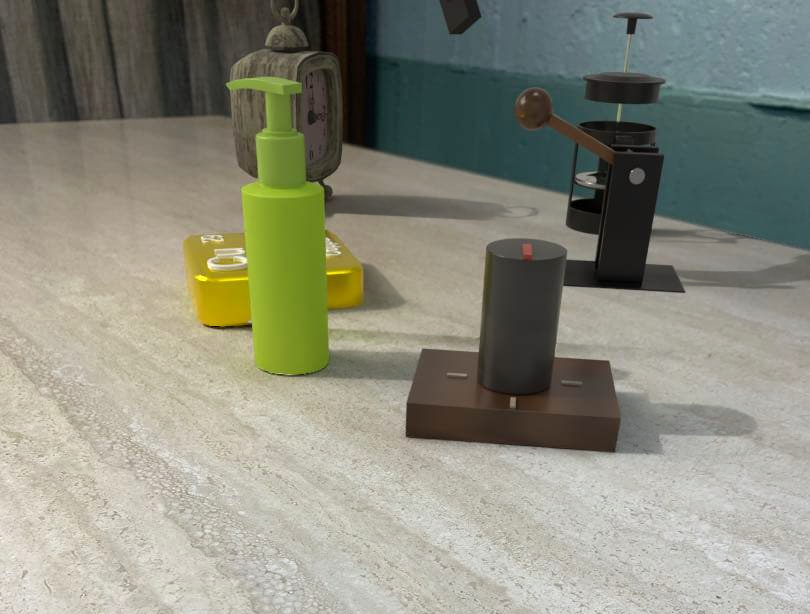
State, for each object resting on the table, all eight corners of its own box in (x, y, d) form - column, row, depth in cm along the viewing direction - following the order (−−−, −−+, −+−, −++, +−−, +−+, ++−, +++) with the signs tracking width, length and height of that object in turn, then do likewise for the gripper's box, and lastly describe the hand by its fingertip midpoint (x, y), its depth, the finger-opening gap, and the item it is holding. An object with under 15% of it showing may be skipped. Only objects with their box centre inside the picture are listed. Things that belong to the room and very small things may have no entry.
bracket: (557, 296, 84) (574, 155, 77) (555, 270, 92) (570, 139, 85) (682, 304, 83) (711, 161, 76) (670, 276, 91) (695, 144, 84)
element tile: (368, 317, 78) (368, 264, 76) (200, 330, 74) (193, 274, 72) (332, 270, 90) (331, 222, 87) (185, 279, 86) (179, 230, 84)
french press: (558, 222, 109) (583, 9, 97) (633, 225, 109) (668, 11, 96) (567, 247, 100) (596, 14, 87) (650, 250, 99) (691, 16, 86)
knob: (477, 363, 63) (487, 231, 58) (549, 367, 63) (565, 235, 57) (475, 392, 59) (485, 252, 53) (552, 396, 58) (570, 256, 53)
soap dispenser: (280, 339, 73) (263, 71, 62) (344, 358, 70) (338, 79, 59) (230, 360, 69) (202, 77, 58) (295, 381, 66) (279, 86, 55)
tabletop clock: (300, 220, 108) (289, -20, 94) (235, 213, 110) (215, -22, 96) (344, 196, 119) (340, -20, 105) (284, 191, 121) (273, -22, 108)
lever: (506, 120, 79) (527, 81, 77) (507, 115, 82) (527, 77, 80) (636, 199, 81) (660, 163, 79) (633, 191, 84) (655, 156, 82)
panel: (604, 391, 66) (610, 358, 64) (615, 452, 57) (621, 415, 56) (421, 379, 67) (422, 346, 65) (405, 436, 58) (406, 400, 57)
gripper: (411, -215, 79) (489, 48, 82) (292, -241, 71) (383, 49, 74) (463, -286, 72) (545, 2, 75) (339, -323, 65) (436, -2, 68)
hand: (465, 25), depth 75 cm, fingers closed
